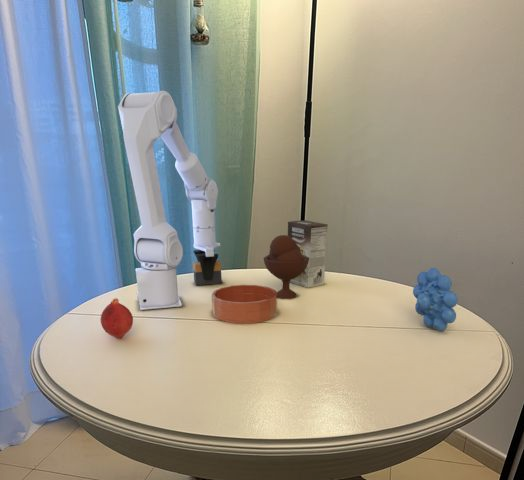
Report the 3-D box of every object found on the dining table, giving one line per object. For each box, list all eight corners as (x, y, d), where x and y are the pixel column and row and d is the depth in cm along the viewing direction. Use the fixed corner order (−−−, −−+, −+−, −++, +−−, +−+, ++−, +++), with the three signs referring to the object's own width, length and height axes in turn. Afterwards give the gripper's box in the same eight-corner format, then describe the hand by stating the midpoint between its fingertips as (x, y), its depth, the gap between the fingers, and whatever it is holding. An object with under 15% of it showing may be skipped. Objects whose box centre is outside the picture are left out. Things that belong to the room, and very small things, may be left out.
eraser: (196, 285, 122) (194, 265, 120) (194, 282, 125) (193, 262, 123) (221, 283, 124) (220, 263, 121) (219, 280, 127) (218, 260, 124)
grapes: (394, 321, 96) (401, 265, 91) (419, 317, 98) (427, 262, 93) (433, 340, 86) (443, 278, 81) (460, 335, 88) (471, 274, 84)
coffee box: (285, 281, 126) (286, 221, 120) (303, 277, 130) (304, 219, 123) (307, 288, 119) (309, 225, 113) (325, 284, 123) (328, 223, 117)
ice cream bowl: (309, 301, 108) (312, 238, 103) (263, 301, 109) (262, 238, 103) (306, 289, 118) (308, 231, 112) (263, 289, 118) (263, 231, 112)
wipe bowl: (219, 326, 93) (218, 305, 92) (208, 306, 106) (207, 287, 104) (285, 319, 97) (285, 299, 95) (266, 300, 109) (266, 282, 108)
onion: (117, 346, 84) (111, 305, 81) (97, 340, 87) (90, 300, 84) (141, 336, 88) (136, 297, 85) (121, 330, 91) (115, 292, 88)
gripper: (224, 230, 113) (226, 283, 118) (214, 222, 126) (216, 270, 131) (196, 231, 111) (199, 285, 116) (188, 223, 124) (192, 272, 129)
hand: (206, 278), depth 124 cm, fingers closed on eraser, 3 cm apart
